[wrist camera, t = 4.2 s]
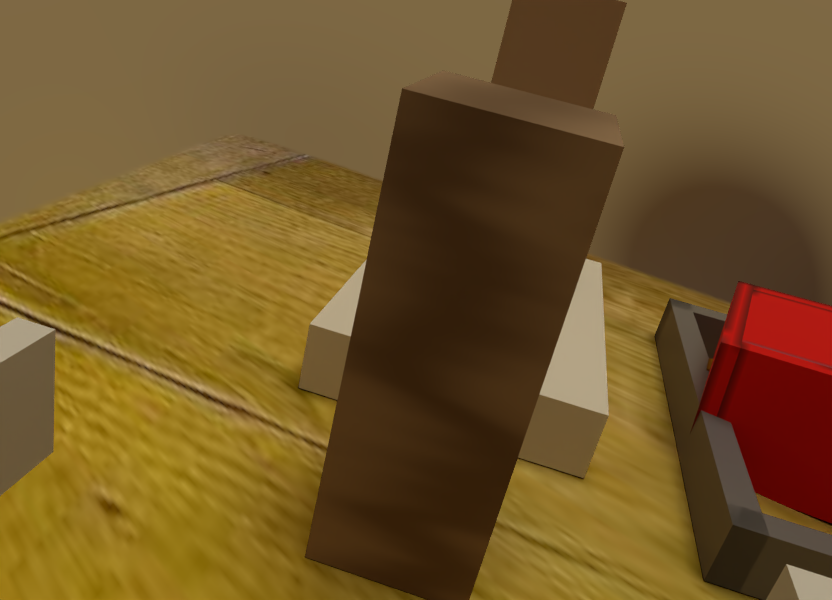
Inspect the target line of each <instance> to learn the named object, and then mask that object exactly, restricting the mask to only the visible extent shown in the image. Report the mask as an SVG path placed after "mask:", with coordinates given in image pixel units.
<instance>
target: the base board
mask: <svg viewBox="0 0 832 600" xmlns="http://www.w3.org/2000/svg"><path fill="white" fill-rule="evenodd" d="M626 4H627V3H625V2H621V1H617V0H512V4H511V7H510V11H509V16H508V19H507V23H506V27H505V31H504V35H503V39H502V43H501V46H500V51H499V54H498V58H497V62H496V66H495V70H494V74H493V78H492V82H491V83H493V84H497V85H501V86H505V87H509V88H513V89H517V90H520V91H524V92H528V93H532V94H536V95H540V96H543V97H547V98H551V99H555V100H559V101H563V102H567V103H570V104H574V105H578V106H582V107H586V108H590V109H593V108H594V105H595V102H596V99H597V95H598V92H599V89H600V86H601V83H602V80H603V76H604V73H605V70H606V67H607V64H608V61H609V58H610V54H611V51H612V48H613V45H614V42H615V39H616V36H617V32H618V29H619V26H620V23H621V20H622V17H623V13H624V10H625V7H626ZM366 261H367V260H366ZM366 261H365V262H364V263H363V264H362V265H361V266H360V268H359V269H358V270H357V271H356V272H355V273H354V274H353V276H352V277H351V278H350V279H349V280H348V281H347V282H346V283H345V285H344V286H343V287H342V288H341V289H340V290H339V291H338V293H337V294H336V295H335V296H334V297H333V298H332V299H331V300H330V302H329V303H328V304H327V305H326V306H325V307H324V308H323V310H322V311H321V312H320V313H319V314H318V315H317V316H316V318H315V319H314V320H313V321H312V322H311V323H310V326H309V331H308V337H307V343H306V348H305V354H304V359H303V365H302V370H301V376H300V382H299V387H298V388H301V389H304V390H307V391H310V392H314V393H317V394H320V395H323V396H326V397H329V398H332V399H336V400H338V396H339V391H340V386H341V381H342V376H343V371H344V367H345V362H346V357H347V352H348V347H349V343H350V338H351V333H352V328H353V323H354V318H355V314H356V309H357V304H358V299H359V294H360V290H361V285H362V280H363V275H364V270H365V265H366ZM608 416H609V413H608V393H607V372H606V352H605V331H604V311H603V290H602V270H601V263H599V262H595V261H592V260H588V259H586V260H585V263H584V266H583V269H582V271H581V274H580V277H579V280H578V283H577V286H576V289H575V292H574V295H573V298H572V301H571V304H570V307H569V309H568V312H567V315H566V318H565V321H564V324H563V327H562V330H561V333H560V336H559V339H558V342H557V344H556V347H555V350H554V353H553V356H552V359H551V362H550V365H549V368H548V371H547V374H546V377H545V380H544V382H543V385H542V388H541V391H540V394H539V397H538V400H537V403H536V406H535V409H534V412H533V415H532V417H531V420H530V423H529V426H528V429H527V432H526V435H525V438H524V441H523V444H522V447H521V450H520V453H519V455H518V458H521V459H524V460H527V461H531V462H534V463H537V464H540V465H543V466H546V467H549V468H553V469H556V470H559V471H562V472H565V473H568V474H571V475H575V476H578V477H581V478H584V477H585V474H586V472H587V469H588V467H589V464H590V462H591V459H592V457H593V454H594V451H595V449H596V446H597V444H598V441H599V439H600V436H601V434H602V431H603V429H604V426H605V424H606V421H607V418H608Z"/></svg>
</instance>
